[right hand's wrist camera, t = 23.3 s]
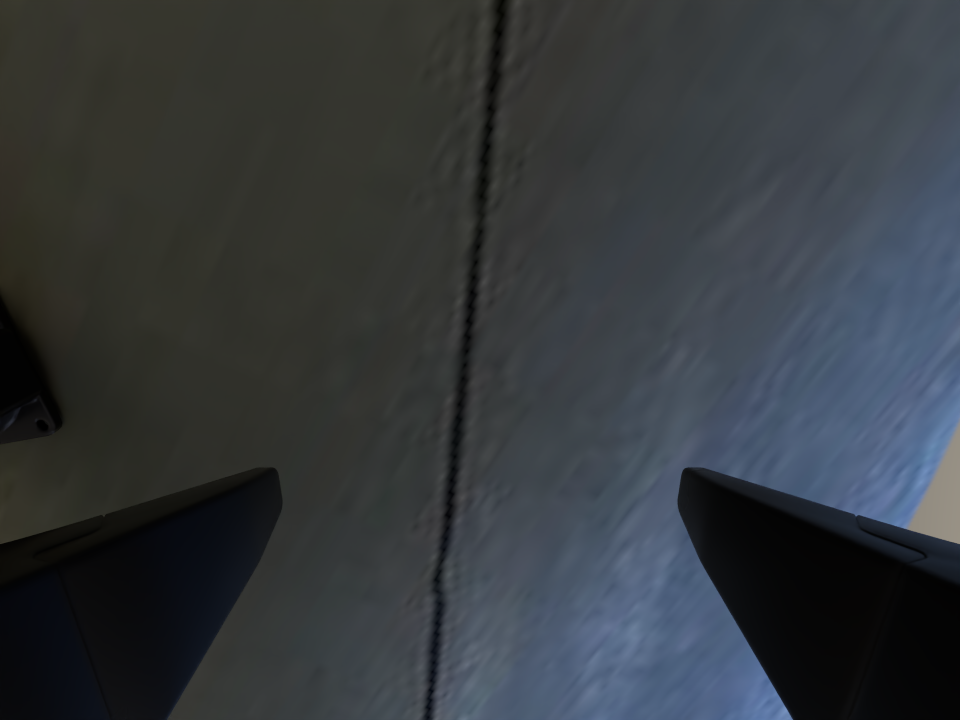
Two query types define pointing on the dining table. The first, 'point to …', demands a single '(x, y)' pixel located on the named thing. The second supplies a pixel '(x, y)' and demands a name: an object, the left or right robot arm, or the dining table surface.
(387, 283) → the dining table surface
